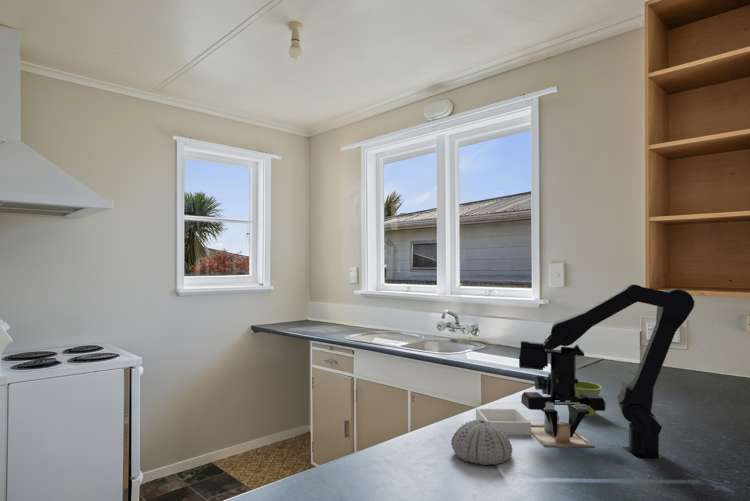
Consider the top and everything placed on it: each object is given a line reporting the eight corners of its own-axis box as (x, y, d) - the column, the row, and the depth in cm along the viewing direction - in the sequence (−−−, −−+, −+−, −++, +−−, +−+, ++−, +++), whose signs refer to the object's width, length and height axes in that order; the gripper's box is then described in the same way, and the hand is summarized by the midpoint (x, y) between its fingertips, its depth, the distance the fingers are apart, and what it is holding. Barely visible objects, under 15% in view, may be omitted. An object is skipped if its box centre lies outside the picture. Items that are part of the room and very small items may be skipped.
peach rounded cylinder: (572, 443, 112) (573, 426, 112) (558, 443, 112) (558, 426, 112) (566, 437, 116) (566, 421, 116) (552, 437, 116) (552, 421, 116)
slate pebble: (561, 433, 119) (561, 417, 119) (547, 433, 119) (547, 417, 119) (555, 428, 122) (555, 413, 122) (542, 428, 122) (542, 413, 122)
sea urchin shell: (440, 449, 109) (441, 414, 109) (490, 443, 113) (490, 409, 114) (472, 474, 96) (472, 434, 96) (526, 465, 101) (526, 428, 101)
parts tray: (594, 449, 110) (594, 445, 110) (543, 448, 110) (544, 444, 110) (568, 428, 124) (568, 424, 124) (523, 428, 124) (523, 424, 124)
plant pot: (605, 421, 131) (605, 390, 131) (569, 418, 133) (570, 387, 133) (596, 411, 140) (597, 382, 141) (563, 408, 142) (563, 380, 142)
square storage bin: (530, 437, 118) (531, 422, 118) (486, 436, 117) (486, 422, 117) (516, 422, 129) (516, 408, 129) (475, 421, 128) (476, 408, 128)
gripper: (584, 365, 123) (584, 425, 122) (514, 364, 122) (513, 424, 122) (607, 376, 112) (606, 442, 111) (529, 374, 111) (529, 441, 111)
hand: (562, 436), depth 114 cm, fingers closed on peach rounded cylinder, 4 cm apart
